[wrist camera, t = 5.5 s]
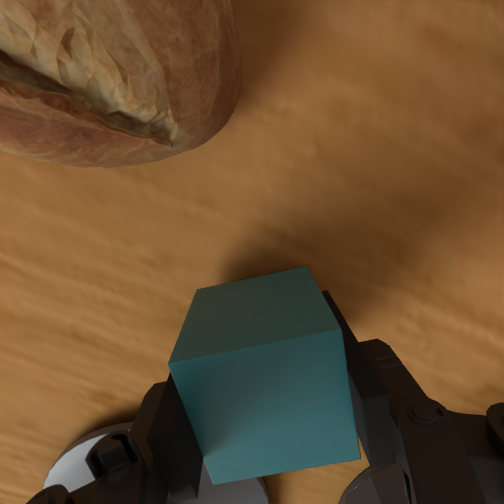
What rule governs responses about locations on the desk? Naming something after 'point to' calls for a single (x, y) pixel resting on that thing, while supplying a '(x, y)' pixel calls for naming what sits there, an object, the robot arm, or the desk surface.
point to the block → (265, 377)
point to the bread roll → (115, 78)
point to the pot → (378, 486)
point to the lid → (209, 496)
